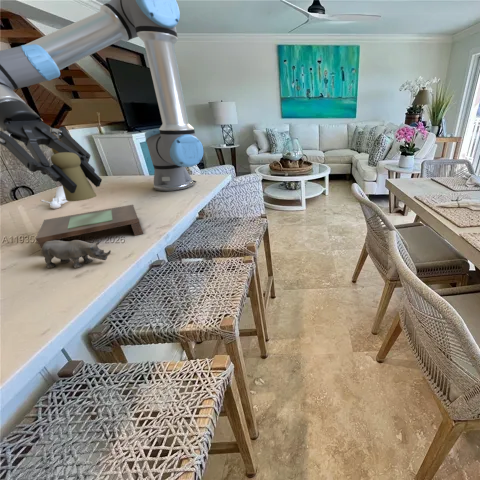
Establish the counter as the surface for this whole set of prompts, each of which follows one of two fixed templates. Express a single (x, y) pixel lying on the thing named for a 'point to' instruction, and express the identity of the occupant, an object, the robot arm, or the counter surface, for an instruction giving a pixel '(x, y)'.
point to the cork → (73, 176)
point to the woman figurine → (57, 199)
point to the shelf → (88, 223)
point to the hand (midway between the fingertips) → (87, 186)
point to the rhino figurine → (72, 252)
